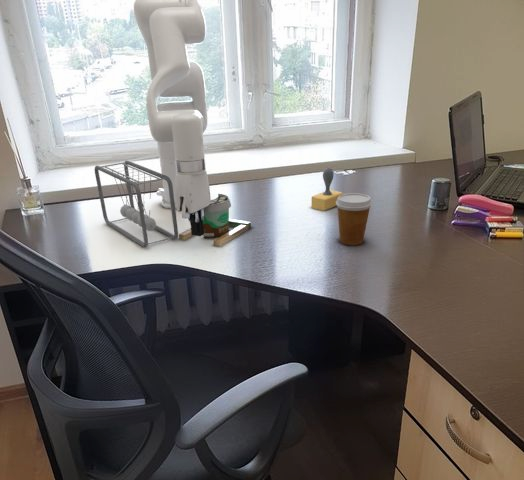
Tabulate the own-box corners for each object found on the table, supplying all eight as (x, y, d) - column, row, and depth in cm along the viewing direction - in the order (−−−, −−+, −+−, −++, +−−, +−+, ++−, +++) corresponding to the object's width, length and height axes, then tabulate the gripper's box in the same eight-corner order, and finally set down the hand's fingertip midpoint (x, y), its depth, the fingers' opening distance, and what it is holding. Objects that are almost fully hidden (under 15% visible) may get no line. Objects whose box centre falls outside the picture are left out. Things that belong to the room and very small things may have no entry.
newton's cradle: (104, 222, 165) (92, 164, 156) (134, 215, 171) (125, 158, 161) (146, 249, 145) (136, 184, 135) (179, 240, 150) (172, 177, 140)
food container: (220, 242, 148) (218, 207, 142) (201, 240, 150) (198, 205, 145) (239, 228, 157) (237, 194, 152) (221, 226, 159) (219, 193, 154)
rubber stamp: (329, 200, 178) (330, 163, 172) (343, 203, 175) (345, 166, 168) (310, 207, 172) (311, 169, 166) (324, 211, 169) (326, 172, 162)
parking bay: (179, 239, 151) (178, 233, 150) (212, 221, 163) (211, 215, 163) (220, 246, 145) (219, 240, 144) (251, 227, 157) (250, 221, 157)
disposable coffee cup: (347, 250, 140) (349, 205, 134) (327, 239, 147) (329, 196, 141) (376, 243, 144) (379, 199, 137) (355, 232, 151) (358, 190, 145)
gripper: (196, 159, 143) (202, 225, 153) (161, 171, 132) (170, 241, 142) (218, 161, 140) (224, 228, 149) (185, 173, 129) (192, 245, 138)
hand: (197, 234), depth 146 cm, fingers closed
